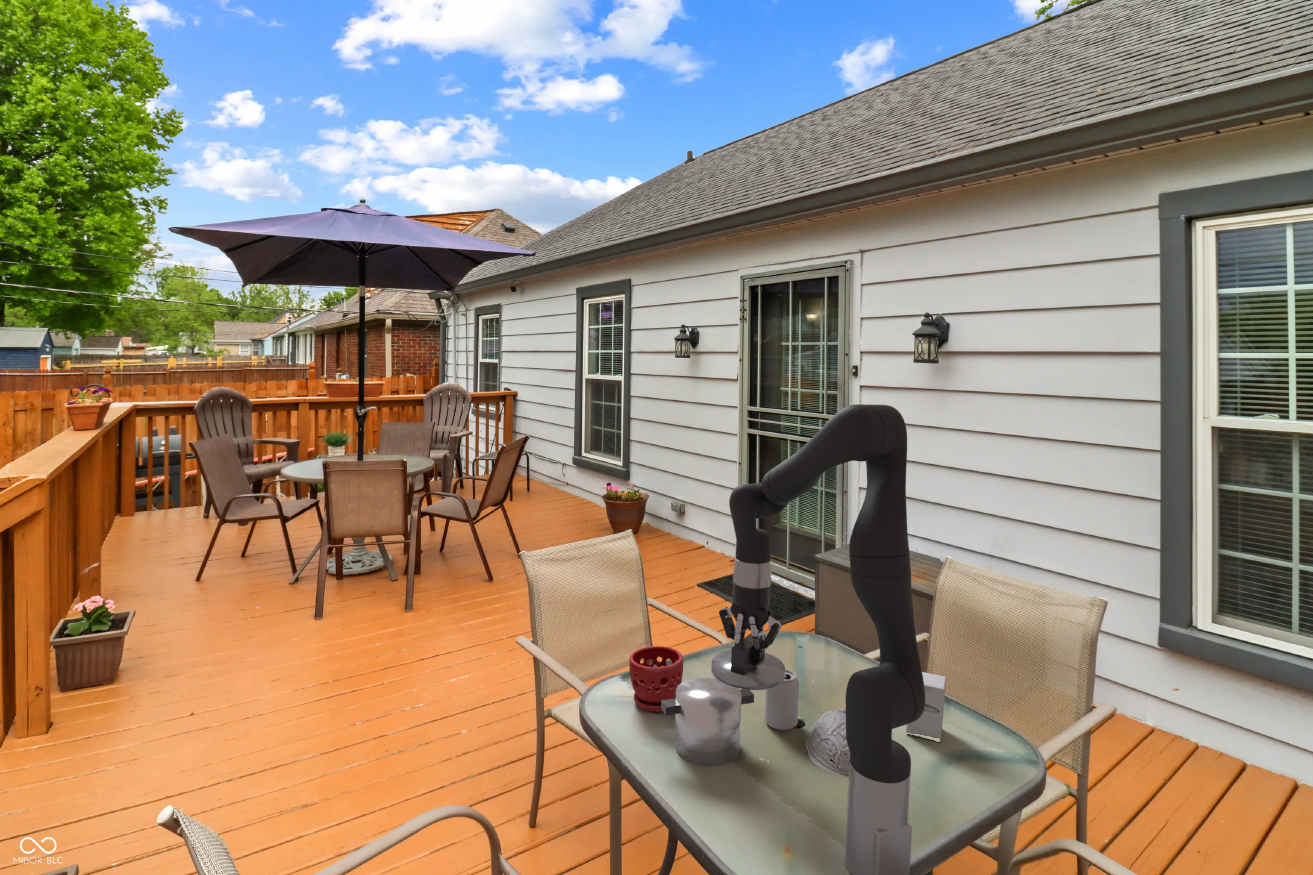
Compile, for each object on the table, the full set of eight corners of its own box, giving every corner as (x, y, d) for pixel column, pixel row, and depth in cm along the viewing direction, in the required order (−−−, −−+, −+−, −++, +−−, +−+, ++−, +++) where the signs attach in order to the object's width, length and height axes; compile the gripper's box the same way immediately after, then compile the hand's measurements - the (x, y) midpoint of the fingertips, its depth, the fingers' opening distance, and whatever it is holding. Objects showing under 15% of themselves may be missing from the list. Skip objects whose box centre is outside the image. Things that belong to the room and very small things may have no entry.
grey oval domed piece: (802, 767, 130) (807, 735, 130) (809, 714, 154) (813, 687, 154) (881, 790, 126) (887, 757, 125) (876, 732, 150) (881, 704, 149)
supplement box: (905, 735, 144) (908, 680, 143) (909, 720, 150) (911, 668, 149) (940, 744, 140) (944, 688, 139) (943, 728, 147) (946, 675, 146)
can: (797, 734, 143) (799, 682, 142) (763, 730, 145) (765, 678, 144) (797, 717, 150) (799, 668, 150) (764, 713, 152) (766, 664, 151)
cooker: (764, 756, 134) (766, 701, 133) (673, 772, 128) (674, 715, 127) (736, 722, 147) (737, 672, 146) (652, 735, 141) (653, 683, 140)
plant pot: (660, 685, 165) (661, 640, 164) (693, 706, 155) (694, 658, 154) (618, 699, 157) (618, 652, 156) (650, 722, 147) (651, 672, 146)
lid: (766, 697, 122) (768, 664, 121) (698, 675, 130) (699, 644, 129) (795, 668, 134) (797, 638, 133) (731, 649, 142) (732, 621, 141)
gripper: (712, 578, 131) (709, 659, 132) (776, 592, 123) (772, 678, 125) (729, 569, 137) (725, 646, 139) (791, 582, 129) (787, 664, 131)
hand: (748, 661), depth 132 cm, fingers closed on lid, 3 cm apart
